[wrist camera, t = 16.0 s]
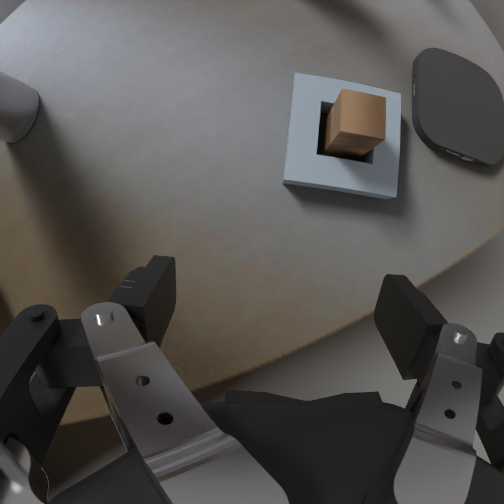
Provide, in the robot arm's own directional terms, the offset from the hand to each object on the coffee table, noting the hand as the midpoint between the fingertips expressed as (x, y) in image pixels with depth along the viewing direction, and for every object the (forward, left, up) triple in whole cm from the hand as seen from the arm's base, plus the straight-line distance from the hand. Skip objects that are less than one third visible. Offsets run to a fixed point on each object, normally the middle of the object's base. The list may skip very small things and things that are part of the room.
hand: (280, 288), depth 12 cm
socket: (-6, +13, -24) cm, 28 cm away
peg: (-6, +13, -24) cm, 27 cm away
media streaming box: (-2, +31, -24) cm, 39 cm away
